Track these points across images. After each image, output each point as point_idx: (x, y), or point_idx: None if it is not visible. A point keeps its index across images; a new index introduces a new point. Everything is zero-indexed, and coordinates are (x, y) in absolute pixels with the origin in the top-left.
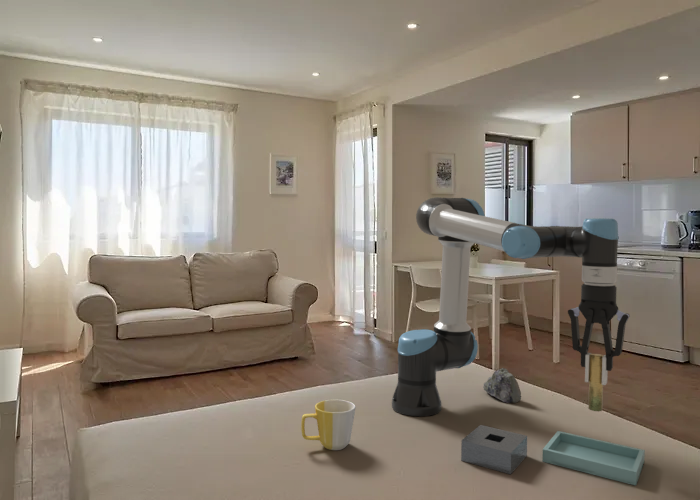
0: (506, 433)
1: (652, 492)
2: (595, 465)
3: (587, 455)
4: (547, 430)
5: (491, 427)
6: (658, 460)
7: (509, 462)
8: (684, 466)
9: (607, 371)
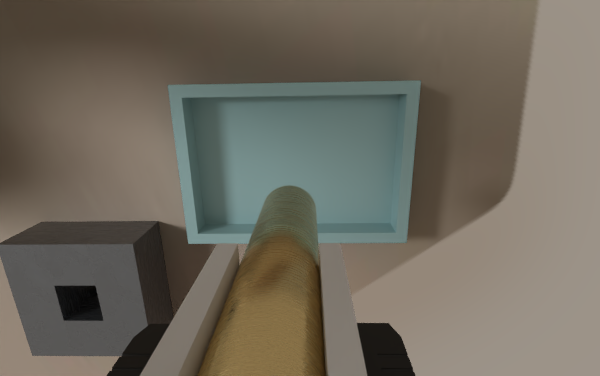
0: (83, 260)
1: (429, 239)
2: None
3: (278, 152)
4: (120, 2)
5: (29, 244)
6: (444, 39)
7: None
8: (509, 38)
9: (349, 290)
